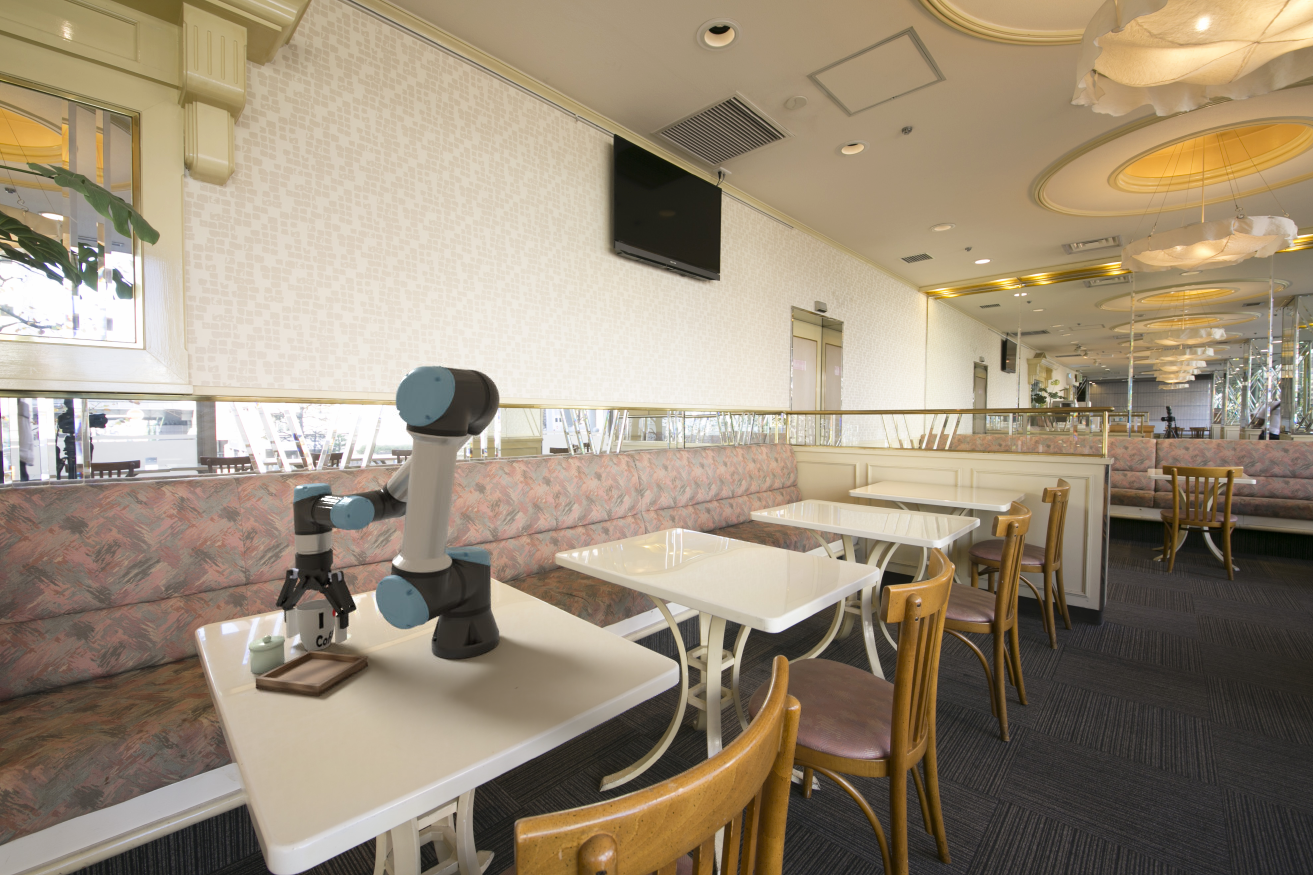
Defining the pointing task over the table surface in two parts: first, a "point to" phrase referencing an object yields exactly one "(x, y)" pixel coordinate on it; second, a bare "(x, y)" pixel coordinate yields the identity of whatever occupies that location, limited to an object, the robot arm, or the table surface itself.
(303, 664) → the tray
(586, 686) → the table surface
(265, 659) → the sugar pot
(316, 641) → the cup
